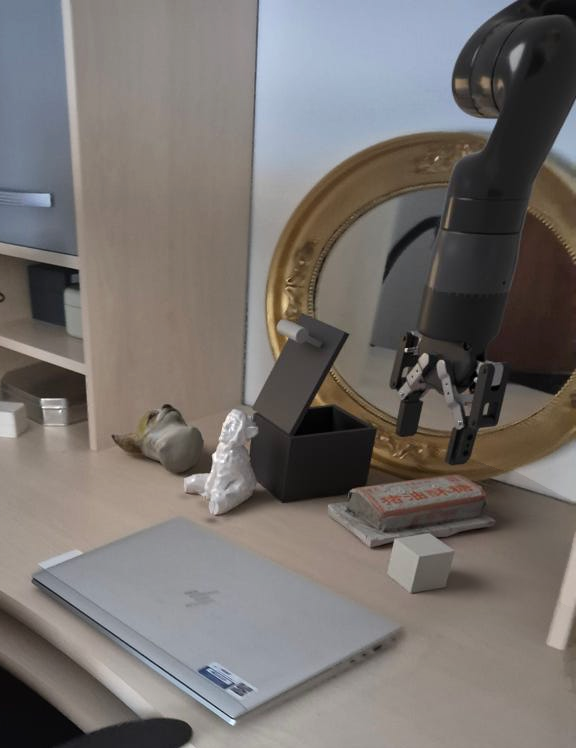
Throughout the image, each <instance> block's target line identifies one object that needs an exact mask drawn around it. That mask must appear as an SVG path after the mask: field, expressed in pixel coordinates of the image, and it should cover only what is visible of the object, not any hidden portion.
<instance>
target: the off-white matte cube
mask: <svg viewBox="0 0 576 748" xmlns="http://www.w3.org/2000/svg"><path fill="white" fill-rule="evenodd" d="M390 553H391V555H390V557H389V562H388V567H387V572H386V574H387V576H388V577H389V578H391V579H392V580H393V581H395V582H396V583H397V584H398V585H400V586H401V587H402V588H403V589H404V590H405V591H407V592H408V593H410V594H414V593H419V592H424V591H426V592H427V591H431V590H436V589H442V588H446V586H447V583H448V582H447V581H448V578H449V575H450V571H451V567H452V564H453V560H454V557H455V553H456V550H454V549H453V548H452V547H450V546H449V545H448V544H446V543H444V542H443V541H441V540H440V539H439V538H438V537H434V536H433V535H431V534H430V533H427V534H421V535H414V536H408V537H402V538H395V539H394V541H393V544H392V549H391V552H390Z"/></svg>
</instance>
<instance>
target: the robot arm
mask: <svg viewBox="0 0 576 748" xmlns="http://www.w3.org/2000/svg"><path fill="white" fill-rule="evenodd" d="M450 81H451V83H450V85H451V94H452V98H453V100H454V102H455V104H456V105H457V107H458V108H459V109H460V110H461V111H462V112H463V113H465V114H466V115H469V116H471V117H473V118H477V119H484V120H485V119H487V120H496V121H495V124H494V127H493V129H492V131H491V133H490V135H489V137H488V139H487V141H486V143H485V145H484V147H483V148H482V149H481V150H479V151H476V152H472V153H469V154H465V155H464V156H462V157H461V158H459V159H458V160H457V161H456V162H455V164H454V166H453V168H452V170H451V173H450V176H449V180H448V184H447V189H446V192H445V193H446V194H445V199H444V203H443V208H442V212H441V216H440V222H439V227H438V231H437V235H436V238H435V241H434V243H433V246H432V249H431V254H430V258H429V261H428V267H427V271H426V276H425V281H424V286H423V291H422V294H421V295H422V296H421V300H420V306H419V309H418V314H417V318H416V319H417V320H416V324H415V325H416V326H415V329H416V330H410V331H403V332H401V334H400V336H399V341H398V343H397V348H396V353H395V357H394V362H393V365H392V370H391V373H390V378H389V382H388V383H389V388H390V390H396V391H397V399H398V400H400V403H399V407H398V414H397V418H396V424H395V435H396V436H399V437H400V438H407V437H414V436H415V435H416V434H417V432H418V429H419V424H420V419H421V414H422V411H423V406H424V401H423V400H421V399H422V398H424V397H425V396H426V395H427V394H428V392H429V391H430V390H435V391H436V392H437V393H438V394H439V395H442V396H444V401H445V405H446V406H447V408H449V409H450V410H451V413H452V419H453V424H454V427H452V429H451V433H450V437H449V441H448V444H447V445H448V446H447V449H446V454H445V458H444V462H445V463H446V464H448V465H450V466H458V465H459V466H460V465H464V464H467V462H468V461H469V460H470V459H471V457H472V453H473V450H474V446H475V441H476V438H477V434H478V432H479V430H480V429H484V428H494V427H496V426H497V425H498V423H499V421H500V416H501V411H502V407H503V402H504V398H505V394H506V390H507V385H508V381H509V376H510V371H511V364H510V362H509V361H498V362H493V361H490V360H488V353H487V352H488V351H487V349H488V346H489V345H490V343H491V342H492V341H493V340H494V339H496V338H497V337H498V336H499V334H500V331H501V326H502V324H503V323H502V322H503V319H504V315H505V312H506V307H507V304H508V300H509V295H510V293H511V288H512V284H513V280H514V277H515V272H516V269H517V265H518V262H519V261H518V260H519V256H520V246H521V239H522V233H523V229H524V226H525V221H526V217H527V213H528V210H529V205H530V202H531V197H532V194H533V190H534V186H535V182H536V180H537V177H538V175H539V173H540V172H541V170H542V167H543V166H544V164H545V162H546V161H547V158H548V156H549V155H550V153H551V151H552V148H553V147H554V145H555V142H556V141H557V138H558V137H559V135H560V133H561V130H562V128H563V126H564V125H565V123H566V121H567V119H568V117H569V115H570V113H571V111H572V109H573V107H574V104H575V103H576V0H515V1H513V2H511V3H510V4H509V5H507V6H505V7H504V8H502V9H501V10H499V11H498V12H496V13H495V14H494V15H492V16H491V17H489V18H488V19H487V20H486V21H485V22H483V23H482V24H481V25H480V26H479V27H478V28H477V29H476V30H475V31H474V32H473V33H472V34H471V36H470V37H469V38H468V39H467V41H466V42H465V44H464V45H463V47H462V48H461V50H460V52H459V54H458V56H457V58H456V60H455V63H454V66H453V69H452V73H451V80H450ZM405 368H408V369H407V372H406V376H403V373H404V370H405ZM467 390H468V391H469V393H468V394H463V393H464V392H466V391H467ZM487 404H488V405H487ZM486 405H487V411H486V413H484V411H485V407H486ZM465 407H467V408H468V412H469V415H467V414H466V410H465Z"/></svg>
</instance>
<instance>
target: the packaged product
mask: <svg viewBox="0 0 576 748" xmlns="http://www.w3.org/2000/svg"><path fill="white" fill-rule="evenodd" d="M486 496H487V493H486V492H485V490H484V489H483V487H482V486H481V485H480V484H477V483H476V482H473V481H471V480H470V479H469V478H467V477H465V476H463V475H461V474H457V473H456V474H447V475H439V476H432V477H423V478H417V479H410V480H402V481H396V482H395V481H394V482H388V483H381V484H375V485H374V484H373V485H366V487H359V488H355V489H352V490H351V491H349V493H348V494H347V501H344V502H343V501H342V502H337V503H336V502H335V503H329V504H327V515H328V516H329V517H330V518H331V519H333V520H334V521H336V522H337V523H338V524H340V525H341V526H343V527H344V528H345V529H346V530H348V531H349V532H350V533H352V534H353V535H355V536H356V537H357V538H358V539H359V540H360V541H362V542H363V543H364V544H365V545H366V546H367V547H368V548H374V547H378V546H381V545H382V546H383V545H386V544H389V543H394V539H395V538H402V537H408V536H414V535H421V534H427V533H430V534H431V535H433V536H434V537H436V538H447V537H450V536H453V535H454V534H457V533H460V532H467V531H470V530H475V529H482V528H491V527H493V526H495V524H496V520H495V519H494V518H492V517H490V516H488V515H487V514H485V513H483V512H484V511H485V510H486V508H487V505H488V504H487V500H486Z"/></svg>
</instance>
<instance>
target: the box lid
mask: <svg viewBox="0 0 576 748" xmlns="http://www.w3.org/2000/svg"><path fill="white" fill-rule="evenodd" d="M276 331H277V333H278V334H280V335H281V336H284V337H286V338H287V340H286V341H285V344H284V345H283V348H282V350H281V352H280V353H279V355H278V357H277V359H276V361H275V363H274V365H273V366H272V369H271V371H270V373H269V374H268V377H267V378H266V380H265V382H264V384H263V385H262V388H261V390H260V392H259V394H258V395H257V398H256V399H255V401H254V403H253V405H252V407H251V409H252V410H253V411H254V412H255V413H259V414H260V415H262V416H263V417H265V418H266V419H268V420H269V421H270V422H272V423H273V424H275V425H276V426H278V427H279V428H281V429H282V430H284V431H285V432H286V433H288V434H289V435H292V436H294V435H295V433H296V431H297V429H298V427H299V425H300V424H301V422H302V420H303V418H304V416H305V415H306V413H307V411H308V409H309V407H312V406H311V405H312V404H313V402H314V400H315V399H316V396H317V395H318V392H319V391H320V389H321V388H322V386H323V384H324V382H325V380H326V378H327V377H328V375H329V372H330V371H331V369H332V367H333V366H334V365H335V362H336V360H337V358H338V357H339V355H340V353H341V351H342V349H343V348H344V346H345V344H346V342H347V340H348V339H349V337H350V335H351V334H350V333H349V332H346V331H345V330H342V329H340V328H337V327H336V326H333V325H331V324H328V323H326V322H324V321H321V320H320V319H317V318H315V317H313V316H310V315H308V314H306V313H303V312H301V313H300V315H299V317H298V319H297V321H296V322H294V321H291V320H288V319H287V318H283V319H281V320H279V321H278V322H277V324H276Z"/></svg>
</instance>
